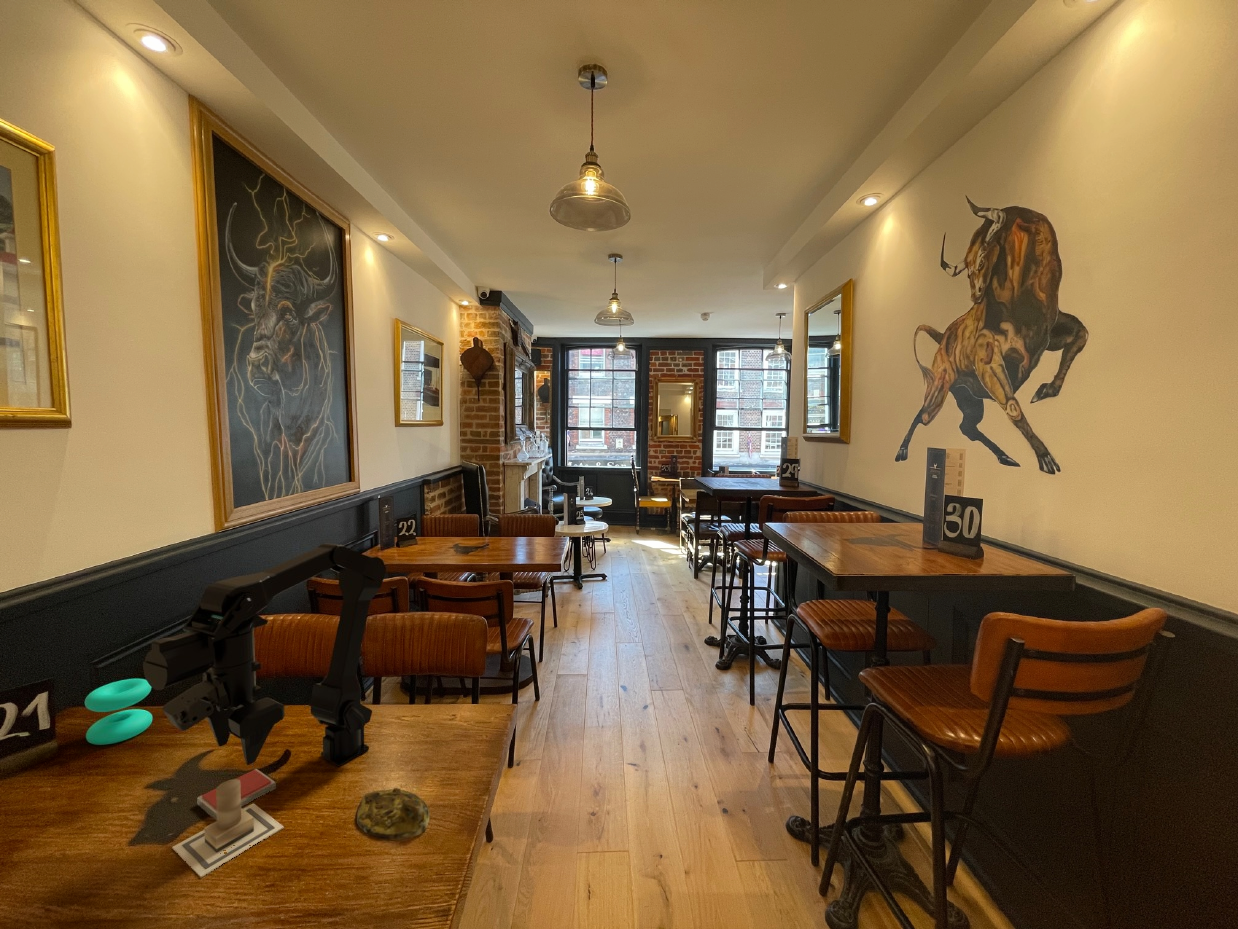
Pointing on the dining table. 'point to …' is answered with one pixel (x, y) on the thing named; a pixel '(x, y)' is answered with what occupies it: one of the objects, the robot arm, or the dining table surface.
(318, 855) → the dining table surface
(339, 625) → the robot arm
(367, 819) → the olive brown oval relief
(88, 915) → the dining table surface
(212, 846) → the stamp
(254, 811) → the card
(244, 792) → the ink pad
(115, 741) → the donuts
